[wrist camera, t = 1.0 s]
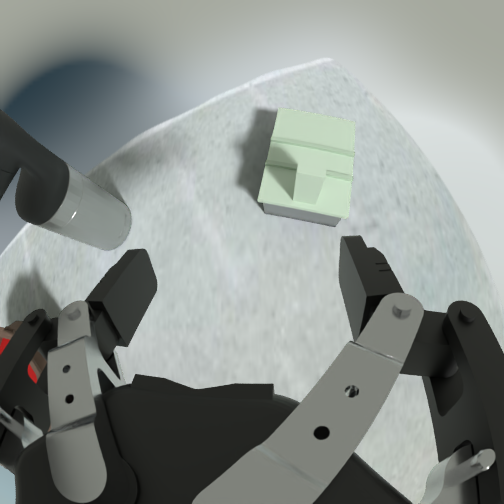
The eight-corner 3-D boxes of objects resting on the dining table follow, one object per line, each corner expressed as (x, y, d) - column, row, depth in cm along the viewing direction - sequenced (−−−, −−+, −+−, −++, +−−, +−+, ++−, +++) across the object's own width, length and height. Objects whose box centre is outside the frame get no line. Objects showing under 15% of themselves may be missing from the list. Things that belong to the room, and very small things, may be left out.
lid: (258, 201, 36) (251, 171, 27) (278, 110, 38) (277, 71, 30) (346, 219, 34) (366, 194, 26) (354, 124, 37) (367, 88, 28)
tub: (264, 213, 42) (262, 199, 36) (281, 134, 44) (281, 113, 38) (334, 227, 40) (343, 215, 35) (343, 146, 43) (350, 126, 37)
